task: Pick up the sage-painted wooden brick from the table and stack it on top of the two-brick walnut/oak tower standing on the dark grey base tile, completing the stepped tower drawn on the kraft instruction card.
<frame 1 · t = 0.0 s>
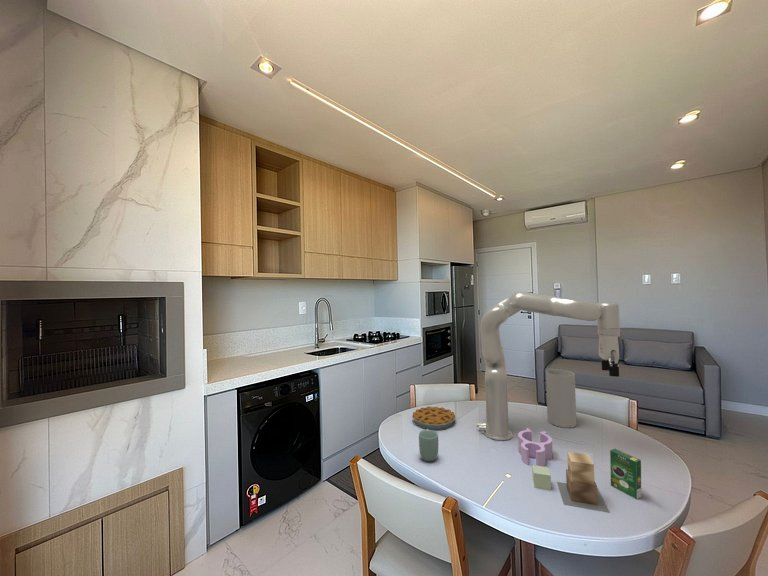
hand: (610, 373, 130), 31 cm above the table, fingers open, 9 cm apart
instruction card: (593, 483, 107), on the table
cup: (429, 459, 126), on the table
base tile: (581, 499, 99), on the table
coffee box: (626, 495, 101), on the table
pie: (433, 422, 162), on the table
brick sage: (541, 488, 106), on the table
brick oak: (580, 477, 99), point 7 cm above the table, touching brick walnut
brick walnut: (581, 496, 99), point 1 cm above the table, touching base tile, brick oak
clip: (534, 457, 125), on the table
cylinder vase: (561, 423, 156), on the table
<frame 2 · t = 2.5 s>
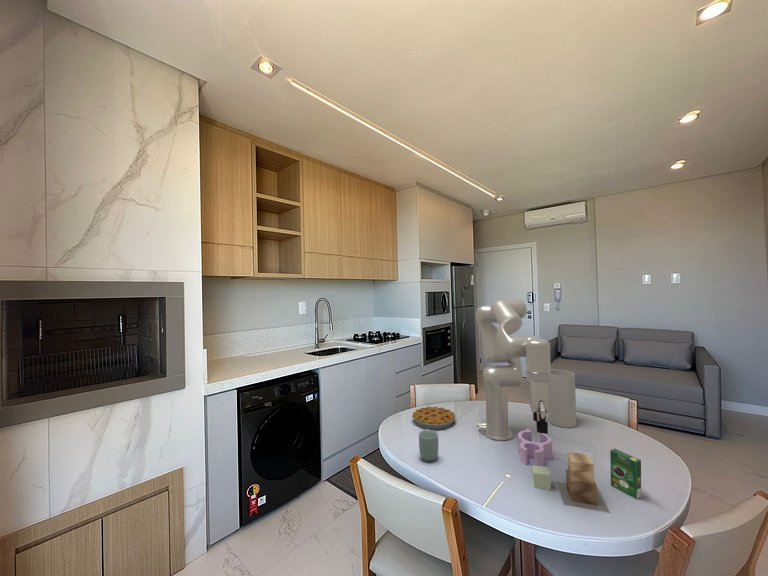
hand: (540, 426, 106), 20 cm above the table, fingers open, 9 cm apart
nothing on the table moved.
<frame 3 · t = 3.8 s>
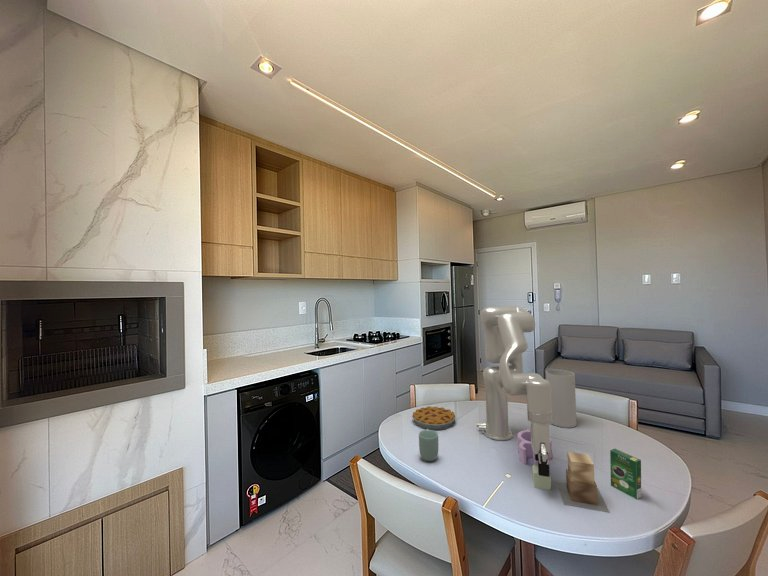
hand: (542, 467, 105), 7 cm above the table, fingers open, 9 cm apart
nothing on the table moved.
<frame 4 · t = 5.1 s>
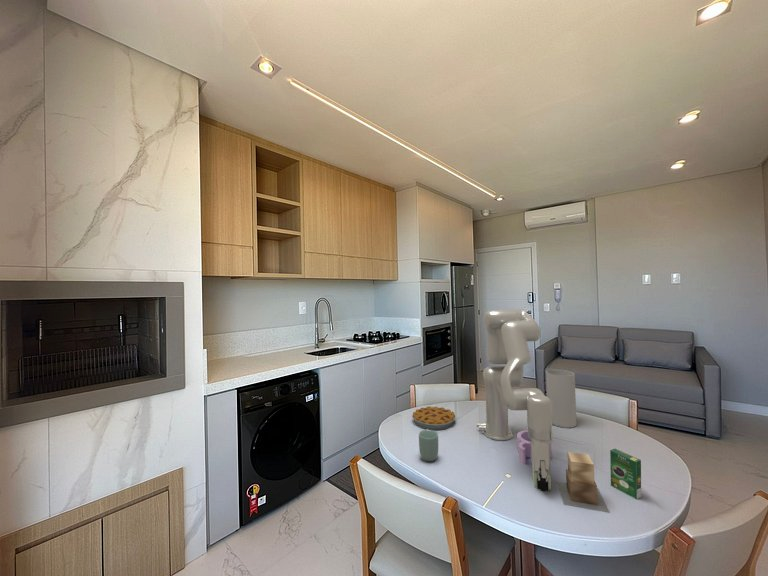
hand: (541, 486, 106), 0 cm above the table, fingers closed on brick sage, 5 cm apart
brick sage: (541, 487, 106), on the table, touching gripper
everything else where it was.
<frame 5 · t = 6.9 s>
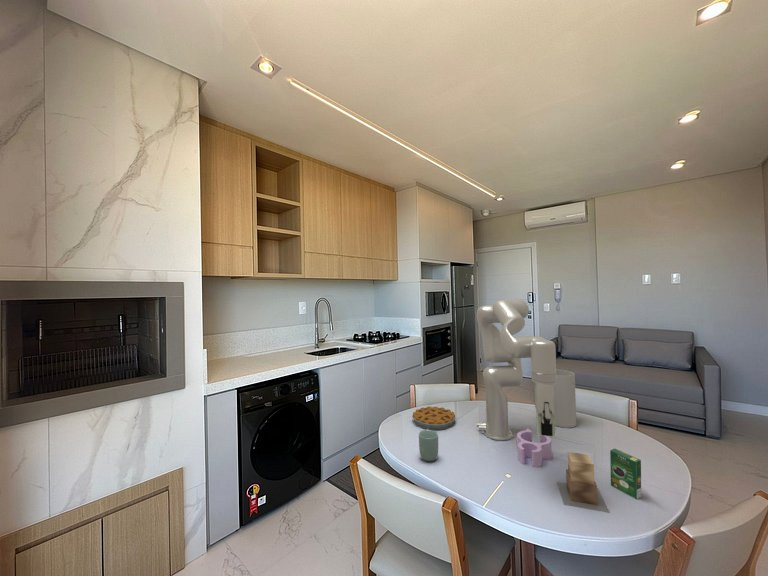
hand: (545, 431, 105), 20 cm above the table, fingers closed on brick sage, 5 cm apart
brick sage: (545, 432, 105), point 19 cm above the table, touching gripper
everything else where it was.
when the fingers open (15 cm above the table, at t = 8.7 s): brick sage stays where it is, resting on brick oak.
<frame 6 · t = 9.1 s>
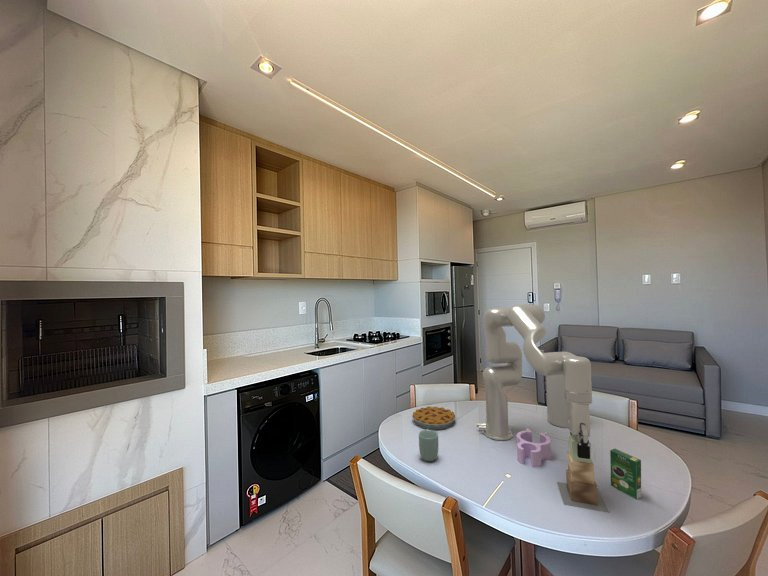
hand: (579, 450, 99), 16 cm above the table, fingers open, 9 cm apart
brick sage: (579, 457, 99), point 13 cm above the table, touching brick oak
brick oak: (580, 477, 99), point 7 cm above the table, touching brick sage, brick walnut
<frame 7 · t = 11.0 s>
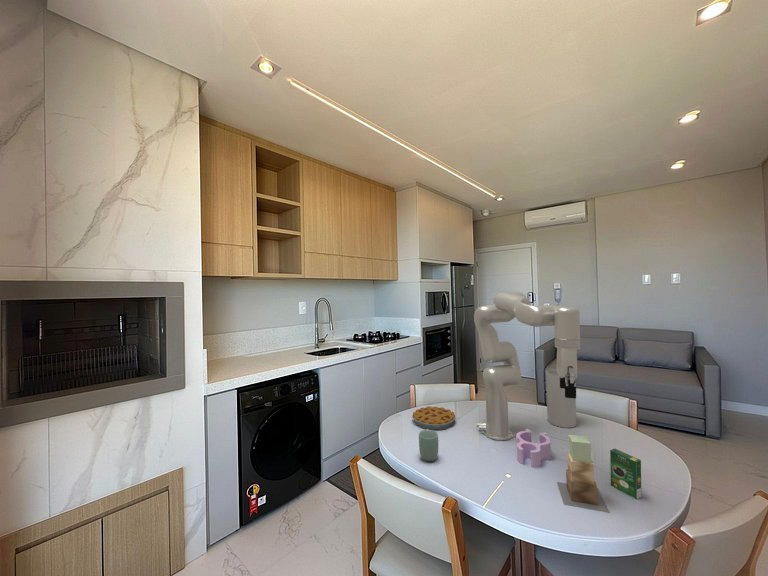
hand: (567, 392, 107), 31 cm above the table, fingers open, 9 cm apart
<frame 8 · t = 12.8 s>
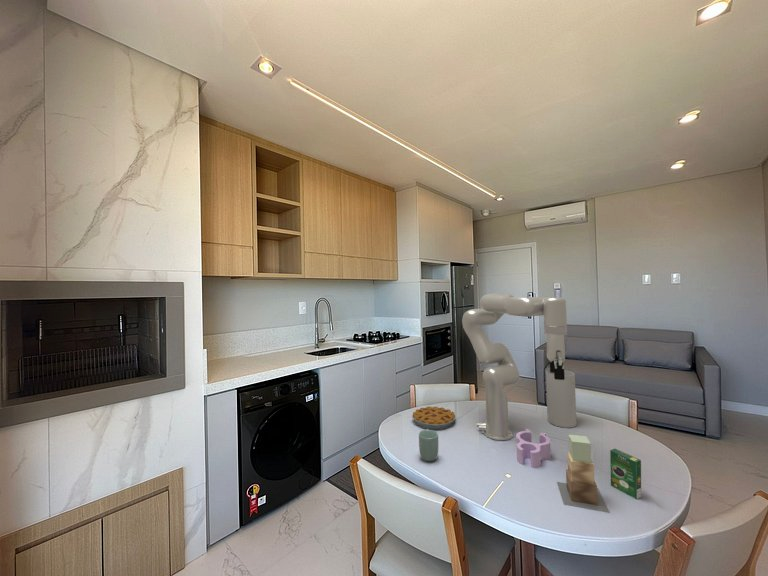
hand: (557, 375, 118), 34 cm above the table, fingers open, 9 cm apart
at the end: brick sage 0.1 cm off-centre on the brick oak, point 6.0 cm above the brick oak's base; brick sage tilted 0°; brick oak 0.0 cm off-centre on the brick walnut, point 6.0 cm above the brick walnut's base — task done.
